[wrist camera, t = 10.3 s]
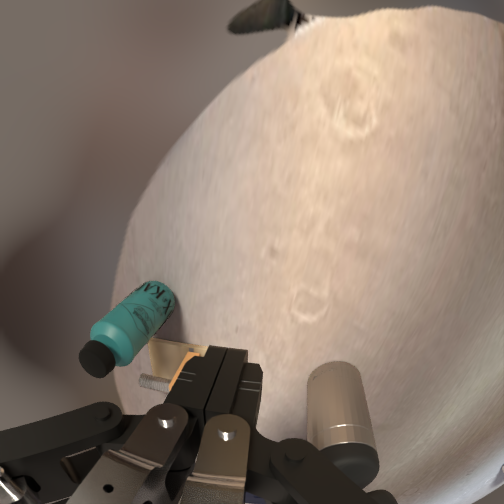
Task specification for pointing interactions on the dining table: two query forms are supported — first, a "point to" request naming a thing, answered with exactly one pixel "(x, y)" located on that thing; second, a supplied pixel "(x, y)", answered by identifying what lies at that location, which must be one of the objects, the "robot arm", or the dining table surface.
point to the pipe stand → (166, 362)
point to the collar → (187, 357)
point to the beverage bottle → (127, 329)
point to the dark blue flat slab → (254, 499)
